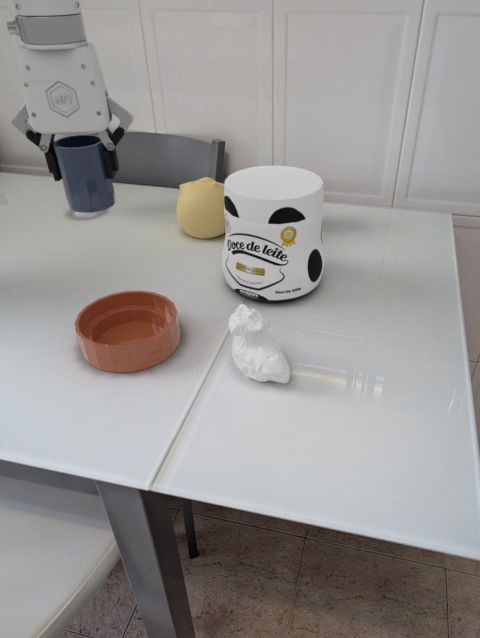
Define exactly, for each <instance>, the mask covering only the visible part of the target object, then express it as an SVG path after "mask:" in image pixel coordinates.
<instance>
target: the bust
mask: <svg viewBox="0 0 480 638" xmlns="http://www.w3.org/2000/svg"><path fill="white" fill-rule="evenodd" d="M270 326H271V323H270V321H269V320H266V319H265V317H262V314H261V313H260V310H259V309H256V308H250V307H248V306H247V305H246V304H245V303H241V304H239V305H238V307H237V308H235V310H234V312H233V313H232V314H231V315H230V317H229V320H228V329H229V334H230V335H231V336H232V342H231V344H232V345H231V347H232V350H231V356H232V360H233V363H234V365H235V366H236V368H237V369H238V370H239V372H240V373H241V374H243V375H244V377H246V378H248V379H250V380H254V381H256V382H259V383H264V382H265V383H266V382H268V381H271V382H275V383H279V384H283V385H285V384H287V383H288V382H289V381H290V378H291V368H290V366H289V362H288V360H287V357H286V356H285V355H284V353H283V352H282V349H281V347H280V344H279V343H278V342H277V341H276V339H275V337H274V335H273V334H272V333H270V331H267V328H269V327H270Z"/></svg>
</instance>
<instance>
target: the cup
mask: <svg viewBox="0 0 480 638" xmlns="http://www.w3.org/2000/svg"><path fill="white" fill-rule="evenodd" d="M52 144H53V148H54V152H55V156H56V160H57V164H58V167H59V171H60V175H61V183H62V186H63V190H64V195H65V198H66V199H65V200H66V202H67V205H68V208H69V209H70V210H71V211H73V212H82V213H90V212H98V211H99V212H102V211H105V210H107V209H111V208H112V207H113V206H114V205H115V204H116V202H117V201H116V193H115V188H114V183H113V179H109V178H108V176H107V171H106V166H105V161H104V156H103V151H104V149H105V148H104V144H103V143H102V141H101V140H100V138H99V137H98V135H97V134H88V135H73V136H67V137H63V138H60V139H58V140H55V141H54V142H53V143H52ZM99 212H98V213H99Z"/></svg>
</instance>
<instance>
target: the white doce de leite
mask: <svg viewBox="0 0 480 638" xmlns="http://www.w3.org/2000/svg"><path fill="white" fill-rule="evenodd" d="M223 184H224V203H225V207H224V214H225V225H226V232H225V237H224V243H223V247H222V252H221V267H222V272H223V275H224V279H225V281H226V283H227V284H228V285H229V287H230V288H231V290H233V291H234V292H235V293H237V294H239V295H241V296H243V297H246V298H247V299H250V300H255V301H259V302H265V303H266V302H271V303H281V302H287V301H294V300H296V299H298V298H302V297H304V296H306V295H308V294H310V293H311V292H313V291H314V290H315V289H316V288H317V287H318V286H319V283H320V282H321V280H322V276H323V273H324V269H325V264H326V263H325V262H326V254H325V249H324V243H323V238H322V228H323V219H324V218H323V217H324V202H325V186H324V181H323V179H322V178H321V176H320V175H318V174H317V173H315V172H313V171H311V170H308V169H304V168H301V167H296V166H289V165H270V164H269V165H268V164H267V165H259V166H251V167H247V168H243V169H239V170H237V171H235V172H232V173H230V174H229V175H228V176H227V177H226V178H225V179H224V182H223Z"/></svg>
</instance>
